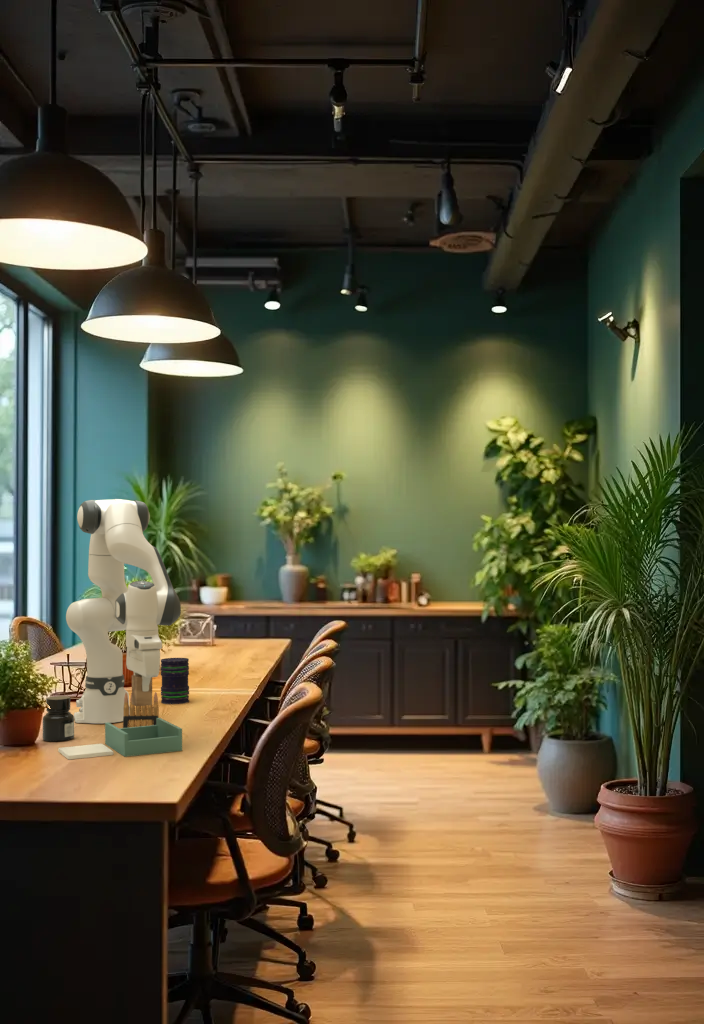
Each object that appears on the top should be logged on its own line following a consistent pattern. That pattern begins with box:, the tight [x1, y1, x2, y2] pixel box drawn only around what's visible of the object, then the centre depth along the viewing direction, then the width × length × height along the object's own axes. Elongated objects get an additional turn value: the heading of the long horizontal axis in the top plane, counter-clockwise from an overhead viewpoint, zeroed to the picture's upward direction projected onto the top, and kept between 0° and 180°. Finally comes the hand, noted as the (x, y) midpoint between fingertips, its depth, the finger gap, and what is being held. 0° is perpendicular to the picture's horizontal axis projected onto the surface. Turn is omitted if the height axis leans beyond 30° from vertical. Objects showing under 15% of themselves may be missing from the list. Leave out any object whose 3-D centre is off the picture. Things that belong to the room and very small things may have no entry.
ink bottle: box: [42, 695, 75, 742], centre depth 317 cm, size 10×9×12 cm
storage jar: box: [160, 657, 190, 705], centre depth 383 cm, size 10×10×15 cm
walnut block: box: [131, 674, 153, 707], centre depth 304 cm, size 4×4×8 cm
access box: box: [104, 717, 183, 758], centre depth 304 cm, size 20×16×6 cm
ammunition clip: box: [122, 691, 160, 728], centre depth 326 cm, size 11×2×12 cm, turn 92°
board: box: [57, 743, 114, 760], centre depth 296 cm, size 12×12×1 cm
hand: (142, 689), depth 304 cm, fingers closed on walnut block, 4 cm apart
